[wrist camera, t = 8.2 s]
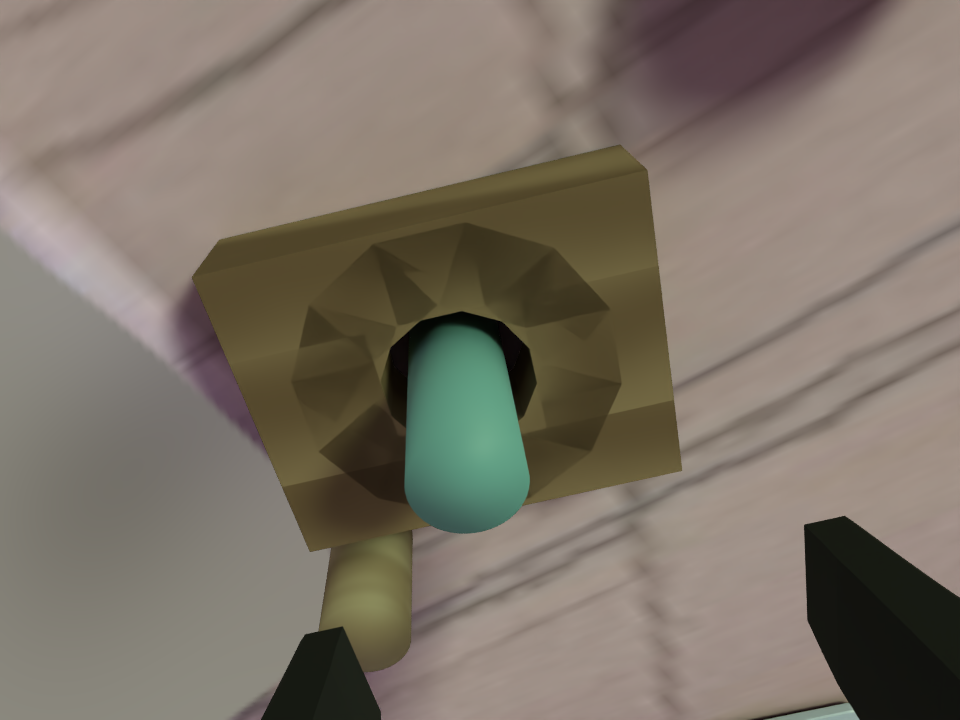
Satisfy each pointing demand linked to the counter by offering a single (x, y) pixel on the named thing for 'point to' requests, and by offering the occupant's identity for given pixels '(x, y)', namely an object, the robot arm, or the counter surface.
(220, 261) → the board
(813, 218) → the counter surface
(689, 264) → the counter surface
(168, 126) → the counter surface
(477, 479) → the long dowel
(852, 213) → the counter surface
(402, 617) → the short dowel
